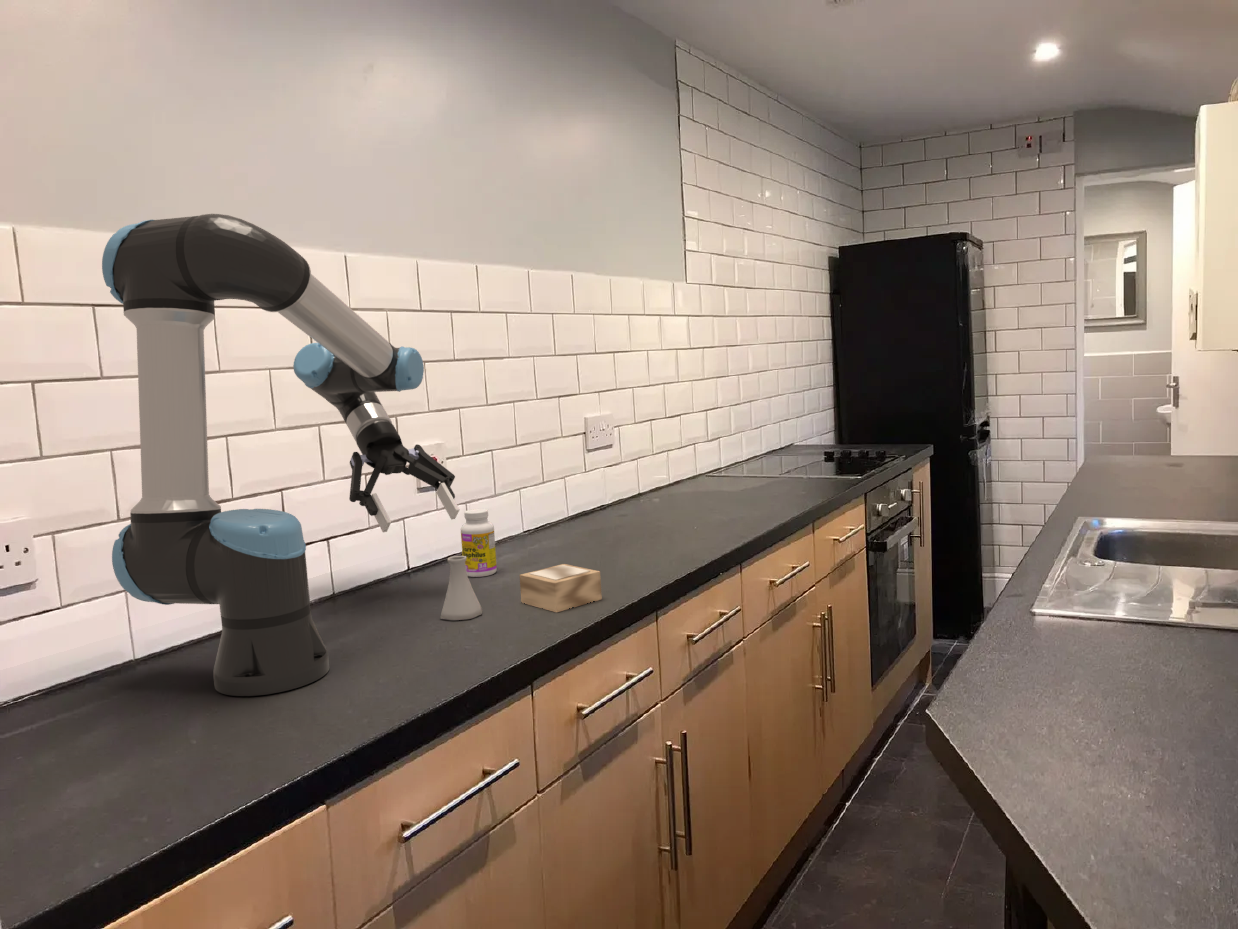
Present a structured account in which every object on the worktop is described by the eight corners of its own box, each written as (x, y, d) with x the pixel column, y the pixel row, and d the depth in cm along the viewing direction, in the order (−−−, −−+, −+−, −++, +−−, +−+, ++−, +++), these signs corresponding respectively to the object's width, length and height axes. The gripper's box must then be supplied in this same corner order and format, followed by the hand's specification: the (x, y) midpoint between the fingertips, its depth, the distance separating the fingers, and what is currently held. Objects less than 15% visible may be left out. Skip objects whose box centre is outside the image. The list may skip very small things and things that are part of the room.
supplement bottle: (458, 577, 181) (452, 513, 180) (472, 569, 188) (468, 508, 186) (488, 578, 179) (483, 513, 178) (502, 570, 186) (498, 507, 184)
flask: (474, 622, 150) (469, 562, 148) (432, 622, 151) (428, 563, 150) (489, 609, 157) (484, 552, 156) (449, 609, 158) (444, 553, 157)
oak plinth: (556, 612, 152) (554, 582, 152) (521, 602, 160) (519, 573, 159) (601, 599, 159) (600, 570, 158) (565, 590, 166) (564, 562, 166)
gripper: (427, 440, 180) (475, 522, 171) (305, 454, 163) (350, 546, 154) (439, 413, 175) (489, 496, 166) (314, 425, 159) (362, 518, 150)
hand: (422, 521), depth 160 cm, fingers open, 13 cm apart
